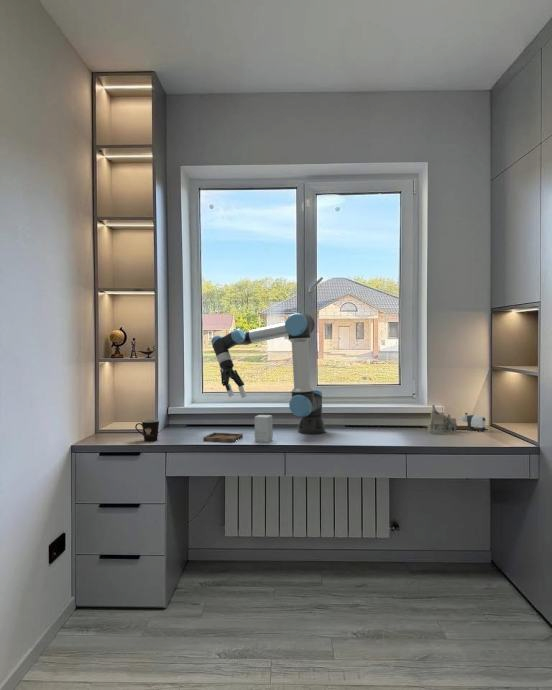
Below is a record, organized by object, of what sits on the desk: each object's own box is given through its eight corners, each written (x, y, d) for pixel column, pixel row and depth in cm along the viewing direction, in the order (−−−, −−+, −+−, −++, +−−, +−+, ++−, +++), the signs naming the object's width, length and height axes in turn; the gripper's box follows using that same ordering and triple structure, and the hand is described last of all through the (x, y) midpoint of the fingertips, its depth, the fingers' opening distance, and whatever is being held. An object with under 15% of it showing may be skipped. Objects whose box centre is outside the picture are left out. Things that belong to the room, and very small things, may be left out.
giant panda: (487, 431, 291) (487, 413, 291) (483, 432, 287) (483, 414, 287) (461, 428, 301) (461, 411, 301) (457, 429, 297) (457, 412, 297)
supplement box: (273, 439, 269) (272, 415, 269) (268, 442, 262) (268, 417, 262) (259, 439, 271) (259, 414, 271) (254, 441, 264) (254, 416, 264)
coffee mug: (163, 440, 269) (162, 420, 269) (150, 442, 262) (150, 422, 262) (146, 437, 276) (146, 418, 275) (134, 440, 268) (134, 420, 268)
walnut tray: (242, 437, 275) (242, 433, 275) (233, 442, 262) (233, 438, 262) (214, 436, 279) (214, 432, 279) (203, 441, 266) (203, 437, 266)
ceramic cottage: (425, 433, 283) (427, 406, 283) (428, 430, 298) (430, 403, 298) (456, 437, 277) (458, 409, 277) (457, 433, 293) (459, 406, 293)
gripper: (231, 367, 307) (243, 400, 300) (207, 362, 285) (220, 398, 278) (242, 361, 304) (254, 394, 298) (218, 356, 282) (231, 392, 276)
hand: (238, 396), depth 288 cm, fingers open, 13 cm apart
